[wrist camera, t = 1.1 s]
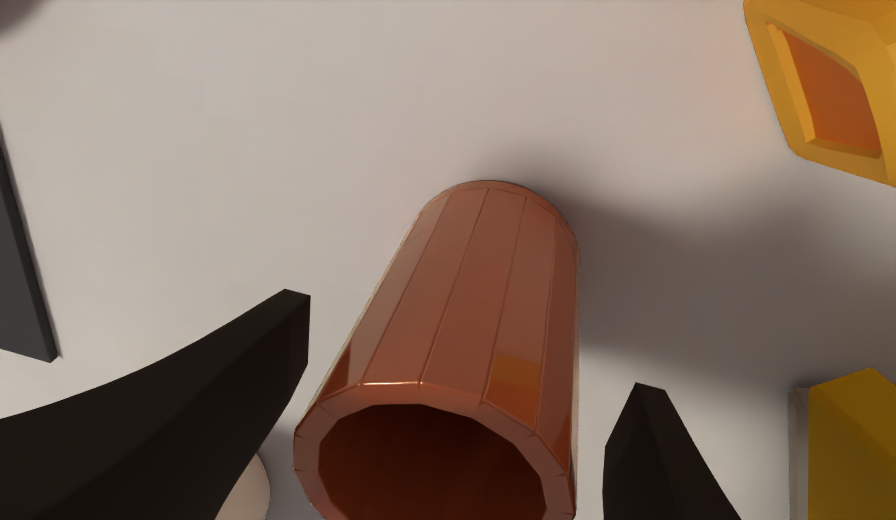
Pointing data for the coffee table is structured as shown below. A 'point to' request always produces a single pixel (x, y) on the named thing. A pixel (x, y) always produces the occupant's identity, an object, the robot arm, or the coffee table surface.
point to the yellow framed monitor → (843, 449)
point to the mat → (19, 286)
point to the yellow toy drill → (832, 79)
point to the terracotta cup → (457, 372)
